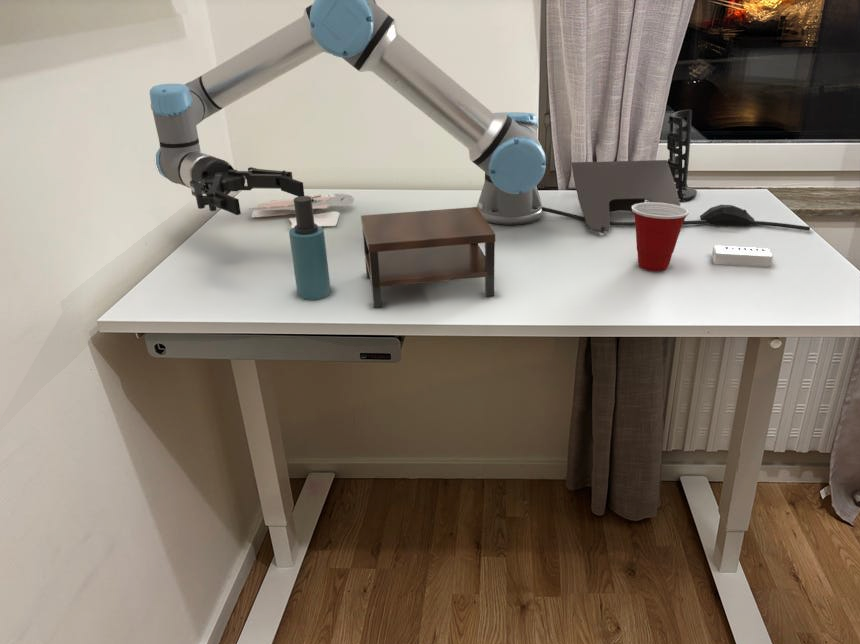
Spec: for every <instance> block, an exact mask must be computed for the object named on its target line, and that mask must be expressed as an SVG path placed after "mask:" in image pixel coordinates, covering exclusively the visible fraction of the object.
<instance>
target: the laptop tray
mask: <svg viewBox="0 0 860 644" xmlns="http://www.w3.org/2000/svg"><path fill="white" fill-rule="evenodd" d="M667 161H668V159H659V160H657V159H655V160H617V161H616V160H613V161H609V160H608V161H573V162H570V164H571V171H572V176H573V181H574V186H575V191H576V194H577V199H578V203H579V207H580V210H581V213H582V215H583V216H582V217H584V218H585V221H584V222H585V227H586V228H588V229H589V230H591V231H595V232H598V233H599V236H601V237H602V236H604V235H605V233H606V232H608V231H610V229H611V225H610V221H611V213H613V212H629V213H630V212H631V213H633V211H632V206H633V205H635V204H639V203H645V202H646V201H647V202H655V203H667V204H674V205H678V206H681V203H680V202H681V201H680V199H679V197H678V194H677V190H678V189H676V186H675V182H674V179H673V176H672V173H671V170H670V167H669V165H668V162H667Z"/></svg>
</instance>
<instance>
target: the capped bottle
mask: <svg viewBox="0 0 860 644" xmlns="http://www.w3.org/2000/svg"><path fill="white" fill-rule="evenodd" d="M293 200H294V207H295V218H296V222H297V225H296V226H295V227H294V228H291V229H290V230H289V231H288V234H289V235H288V236H289V242H290V250H291V257H292V265H293V271H294V278H295V279H294V280H295V286H296V287H295V288H296V293H297V296H298V297H299V299H302V300H308V301H316V300H320V299H324V298H326V297H328V296H330V295H331V293H332V291H331V283H330V282H331V281H330V274H329V264H328V254H327V245H326V236H325V229H324V228H323V226H317V224H315V223H314V216H313V215H314V211H313V208H312V199H311V197H310V195H308V196H306V195H304V196H299V197H298V196H296V197H294V198H293Z"/></svg>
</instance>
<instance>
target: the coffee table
mask: <svg viewBox="0 0 860 644" xmlns="http://www.w3.org/2000/svg"><path fill="white" fill-rule="evenodd" d="M360 221H361V227H362V236H363V237H362V240H363V251H364V264H365V274H366V278H367V279H370V283H371V293H372V295H371V296H372V305H373V308H374V309H379V308H383V303H382V289H381V288H383V287H391V286H393V287H394V286H401V285H402V286H403V285H414V284H424V283H435V282H436V283H437V282H447V281H456V280H458V281H459V280H467V279H469V280H470V279H478V278H484V294H485V297H486V298H492V297H495V260H496V259H495V257H496V255H495V252H496V251H495V249H496V247H495V245H496V244H495V243H496V233H495V232H494V230H493V229H492V227H491V225H490V224H489V222H487V221H486V220H485V218H484V217H483V215H482V214H481V213H480V211H479V210H478V208H477V206H472V207H457V208H445V209H433V210H432V209H430V210H418V211H417V210H416V211H404V212H390V213H377V214H364V215H360ZM480 244H484V249H485V250H484V251H483V250H482V248H481V247H480Z"/></svg>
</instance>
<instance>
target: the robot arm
mask: <svg viewBox="0 0 860 644" xmlns="http://www.w3.org/2000/svg"><path fill="white" fill-rule="evenodd" d="M376 1H377V0H314V1H313V2H312V3H311V4H310V5H308V6H306V7H305V8H304V11H303V15H301V17H298V18H297V19H296V20H294V21H292V22H291V23H288V24H287V25H285V26H284V27H282V28H280V29H278V30H276V31H275V32H273V33H271V34H270V35H268V36H266V37H265V38H263V39H261V40H259V41H257V42H256V43H255V44H253V45H251V46H249V47H247V48H246V49H244V50H242V51H240V52H239V53H237V54H235V55H234V56H232V57H230V58H228V59H227V60H225V61H223V62H222V63H220V64H219V65H216V66H215V67H213V68H211V69H210V70H208V71H206V72H204V73H203V74H202V75H200V76H197V77H196V78H194V79H193V80H190V81H188V82H186V83H184V84H183V83H161V84H157V85H153V86H152V87H151V88H150V89H149V98H150V99H149V100H150V109H151V111H152V115H153V119H154V124H155V128H156V134H157V138H158V143H159V148H158V149H157V151H156V154H155V157H156V165H157V168H158V170H157V172H158V171H159V172H158V173H159V174H160V175H161V176H162V177H163V178H165V179H166V180H169V181H170V182H171V183H174V184H176V185H181V186H184V187H186V188H189V189H190V192H191V195H192V196H193V197H195V200H196V204H197V205H196V206H197V209H199V210H203V209H205V208H206V206H208V209H209V212H216V211H217V209H220V210H223V211H225V212H228V213H231V214H233V215H236V216H240V215H242V213H241V206H240V200H239V198H236V197H234V196H231V195H229V194H231V192H239V191H251V190H253V189H280V191H282V192H283V193H287V194H291V195H293V196H296V197H299V196H305V188H304V182H303V181H300V180H297V179H294V177H293V171H286V170H276V169H264V168H263V169H262V168H256V167H252V166H250V167H247V170H237V169H234V167H233V165H231V164H230V162H228V161H227V160H225V159H222V158H219V157H216V156H213V155H210V154H207V153H204V152H202V150H201V146H200V145H201V144H200V139H199V134H198V128H197V126H198V125H199V124H200V123H201V122H202V121H204V120H206V119H208V118H209V117H211V116H213V115H214V114H216V113H218V112H220V111H221V110H222V109H224V108H226V107H228V106H230V105H231V104H234V103H235V102H237V101H239V100H240V99H242V98H244V97H245V96H248V95H250V94H251V93H253V92H255V91H256V90H258V89H260V88H262V87H264V86H265V85H267V84H269V83H270V82H272V81H274V80H276V79H277V78H280V77H281V76H283V75H285V74H287V73H288V72H290V71H292V70H294V69H295V68H298V67H299V66H301V65H303V64H305V63H306V62H308V61H309V60H311V59H313V58H315V57H317V56H319V55H321V54H322V53H326V54H329V55H332V56H335V57H336V58H337V57H338V58H341V59H342V60H344V61H345V62H346V63H348V64H349V65H350V66H352V67H353V68H354V69H355V70H357V71H358V72H359V73H364V72H371V73H373V74H375V75H376V76H377V77H378V78H379V79H381V81H383V82H384V83H386V84H387V86H389V87H390V88H392V89H393V90H394V91H396V92H397V93H398V94H400V96H402V97H403V98H404V99H405V100H407V101H408V103H410V104H412V105H413V106H414V107H416V108H417V109H418V110H419V111H420V112H421V113H423V114H425V116H427V117H428V118H429V119H431V120H432V121H433V122H434V123H435V124H436V125H438V126H439V127H440V128H442V129H443V130H444V131H446V132H447V133H448V134H449V135H450V136H452V137H453V138H454V139H455V140H457V142H459V143H460V144H461V145H463V146H464V147H465V148H466V149H467V150H468V157H469V160H470V161H471V162H472V163H473V164H475V165H476V166H477V167H478V168H479V169H480V170H482V171H483V172H484V183H483V186H482V189H481V192H480V195H479V198H478V201H477V205H476V207H477V208H478V210H479V211H480V213H481V214H482V215H483V217H484V218H485V220H486V221H487V223H491V224H495V225H505V226H516V225H517V226H518V225H526V224H530V223H534V222H536V221H538V220H540V219H541V218H542V216H543V212H545V213H550V214H554V215H559V216H563V217H566V218H570V219H575V220H579V221H583V222H586V221H585V218H584V216H582V215H578V214H575V213H569V212H566V211H562V210H559V209H558V210H557V209H553V208H550V207H544V206H543V203H542V200H541V196H540V194H539V189H538V185H539V184H540V182H542V180H543V177H544V176H545V173H546V167H547V157H546V153H545V149H544V148H543V146H542V145H541V143H540V141H539V138H538V128H539V122H538V116H537V115H536V114H535V113H533V112H523V111H521V112H520V111H505V112H504V111H502V112H492V111H491V110H490V109H489V108H488V107H487V106H485V105H484V104H483V103H482V102H481V101H479V100H478V99H477V98H476V97H474V96H473V95H472V94H471V93H470V92H469V91H467V90H466V89H465V88H464V87H462V85H460V84H459V83H457V81H455V80H454V79H453V78H452V77H451V76H449V75H448V74H447V73H446V72H444V71H443V69H441V68H440V67H439V66H438V65H436V64H435V63H434V62H433V61H432V60H430V59H429V58H428V57H427V56H425V54H423V53H422V52H421V51H420V50H419V49H417V48H416V47H415V46H414V45H412V44H411V43H410V42H409V41H408V40H406V39H405V38H404V37H403V36H402V35H401V34H400V33H399V32H398V28H397V22H396V19H394V18H393V17H392V16H390V14H389V13H387V11H385V10H383V8H381V7H380V6H379V5H378V4H377V2H376ZM156 165H155V166H156ZM157 168H156V169H157ZM686 225H687V226H689V225H691V226H692V225H709V224H708V223H707V221H706V220H701V219H699V220H698V219H697V220H684V222H683V225H682V226H686ZM752 225H753V226H766V227H777V228H786V229H794V230H800V231H808V232H809V231H810V230H811V226H807V225H799V224H792V223H785V222H784V223H783V222H773V221H764V220H763V221H762V220H755V221H754V222H753V224H752ZM752 225H751V226H752ZM610 226H614V227H615V226H617V227H636V226H635V221H611V220H610Z"/></svg>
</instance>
